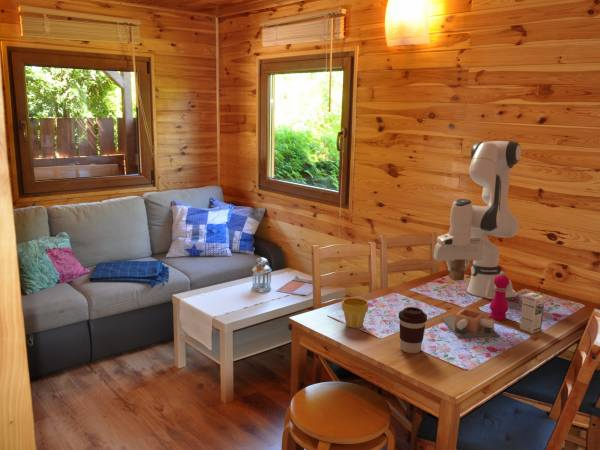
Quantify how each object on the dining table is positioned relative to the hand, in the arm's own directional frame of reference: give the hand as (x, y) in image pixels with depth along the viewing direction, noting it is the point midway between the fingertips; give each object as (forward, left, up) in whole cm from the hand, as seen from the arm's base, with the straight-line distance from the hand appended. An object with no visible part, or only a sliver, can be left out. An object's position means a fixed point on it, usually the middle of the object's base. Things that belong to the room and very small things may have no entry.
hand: (457, 270), depth 217 cm
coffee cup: (+29, +33, -19) cm, 48 cm away
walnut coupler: (0, 0, -4) cm, 4 cm away
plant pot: (+45, +10, -19) cm, 50 cm away
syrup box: (-24, +19, -19) cm, 36 cm away
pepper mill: (-17, +6, -19) cm, 26 cm away
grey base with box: (0, +16, -19) cm, 25 cm away
